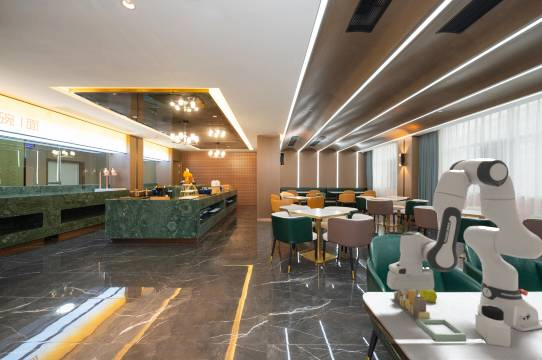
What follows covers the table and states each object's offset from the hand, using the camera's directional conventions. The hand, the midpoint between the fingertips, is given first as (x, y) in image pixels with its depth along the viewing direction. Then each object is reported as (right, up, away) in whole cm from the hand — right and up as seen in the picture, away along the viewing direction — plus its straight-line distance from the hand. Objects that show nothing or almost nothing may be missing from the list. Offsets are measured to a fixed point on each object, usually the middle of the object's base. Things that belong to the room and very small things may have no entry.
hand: (410, 298), depth 105 cm
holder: (0, -6, 0) cm, 6 cm away
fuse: (0, -5, 0) cm, 5 cm away
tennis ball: (+14, -7, +10) cm, 18 cm away
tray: (+3, -6, -15) cm, 16 cm away
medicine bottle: (+20, -6, -18) cm, 28 cm away
